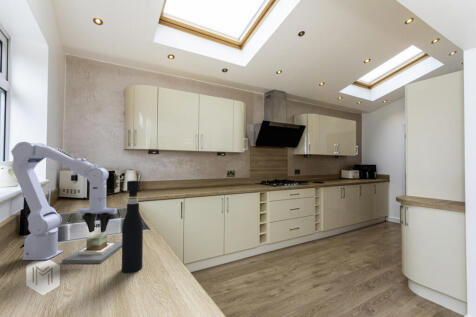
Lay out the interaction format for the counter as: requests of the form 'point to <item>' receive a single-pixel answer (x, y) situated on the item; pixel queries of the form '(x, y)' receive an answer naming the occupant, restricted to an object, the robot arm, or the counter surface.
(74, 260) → the pocket board
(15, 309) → the counter surface
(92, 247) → the block stack
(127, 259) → the wine bottle
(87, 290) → the counter surface
